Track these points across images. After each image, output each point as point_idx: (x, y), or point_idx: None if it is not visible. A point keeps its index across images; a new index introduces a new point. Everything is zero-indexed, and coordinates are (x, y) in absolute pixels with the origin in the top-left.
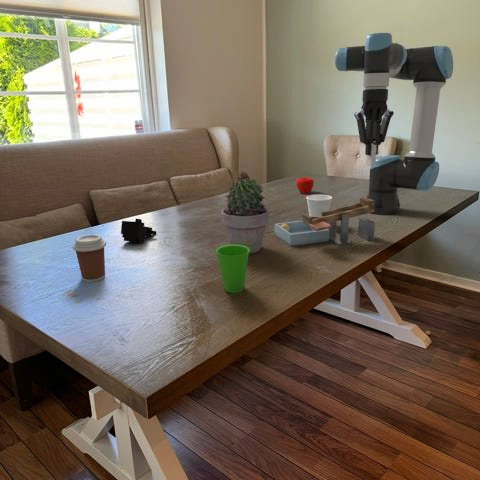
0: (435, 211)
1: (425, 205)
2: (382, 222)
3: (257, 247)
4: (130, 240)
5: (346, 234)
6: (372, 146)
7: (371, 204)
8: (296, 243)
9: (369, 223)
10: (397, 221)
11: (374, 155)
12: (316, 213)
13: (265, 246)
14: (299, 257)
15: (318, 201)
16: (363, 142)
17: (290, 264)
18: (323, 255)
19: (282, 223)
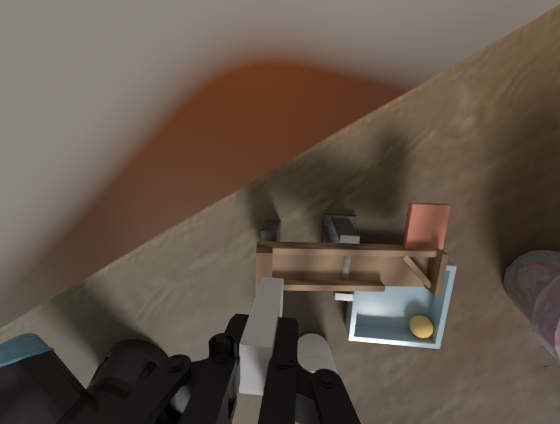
0: (47, 319)
1: None
2: (185, 305)
3: (535, 254)
4: None
5: (339, 221)
6: (271, 342)
7: (264, 249)
8: None
9: (274, 231)
10: (154, 297)
11: (262, 304)
12: (328, 356)
13: (490, 274)
14: (466, 188)
15: None
16: (338, 386)
17: (508, 159)
18: (415, 179)
19: (422, 343)
